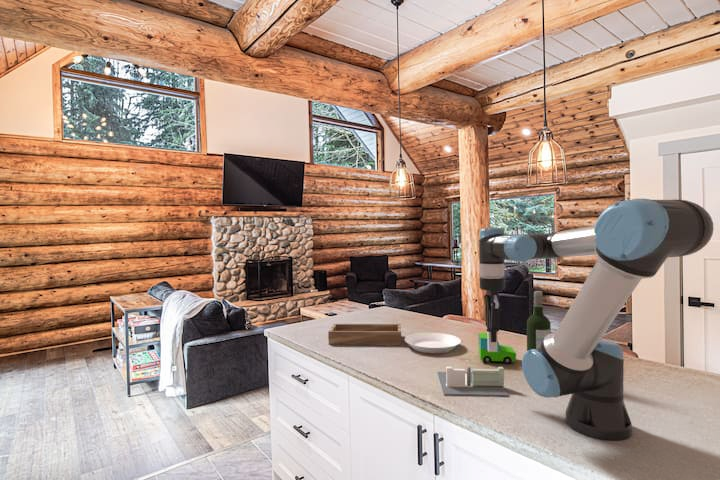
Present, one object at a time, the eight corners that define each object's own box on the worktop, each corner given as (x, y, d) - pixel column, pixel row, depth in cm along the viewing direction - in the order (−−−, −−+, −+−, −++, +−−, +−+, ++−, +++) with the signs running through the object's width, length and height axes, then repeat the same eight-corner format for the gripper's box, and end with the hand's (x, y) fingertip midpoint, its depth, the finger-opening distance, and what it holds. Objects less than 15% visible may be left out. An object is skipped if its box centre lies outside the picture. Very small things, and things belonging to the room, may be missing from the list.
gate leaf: (473, 385, 132) (473, 368, 132) (472, 383, 134) (472, 366, 134) (504, 386, 132) (503, 368, 131) (502, 384, 133) (502, 366, 133)
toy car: (517, 365, 153) (516, 340, 153) (481, 364, 156) (480, 338, 156) (512, 357, 163) (512, 333, 163) (478, 356, 166) (478, 332, 166)
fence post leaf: (471, 388, 132) (471, 368, 132) (447, 387, 133) (446, 368, 133) (470, 386, 134) (470, 366, 134) (446, 385, 135) (446, 366, 135)
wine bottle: (538, 369, 149) (538, 289, 148) (556, 376, 142) (555, 292, 141) (522, 372, 146) (521, 290, 145) (539, 379, 139) (538, 293, 138)
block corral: (401, 344, 184) (401, 332, 184) (328, 344, 187) (328, 331, 187) (401, 335, 200) (400, 324, 200) (333, 335, 203) (333, 323, 203)
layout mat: (508, 396, 125) (508, 394, 125) (444, 395, 127) (444, 393, 127) (493, 373, 145) (493, 372, 145) (437, 373, 147) (437, 371, 147)
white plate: (401, 354, 171) (401, 346, 171) (408, 339, 195) (408, 331, 195) (461, 357, 165) (461, 349, 165) (460, 341, 189) (460, 333, 189)
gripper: (510, 279, 119) (510, 358, 119) (498, 274, 132) (499, 345, 132) (484, 279, 119) (484, 357, 120) (475, 274, 132) (476, 345, 133)
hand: (492, 351), depth 126 cm, fingers closed
